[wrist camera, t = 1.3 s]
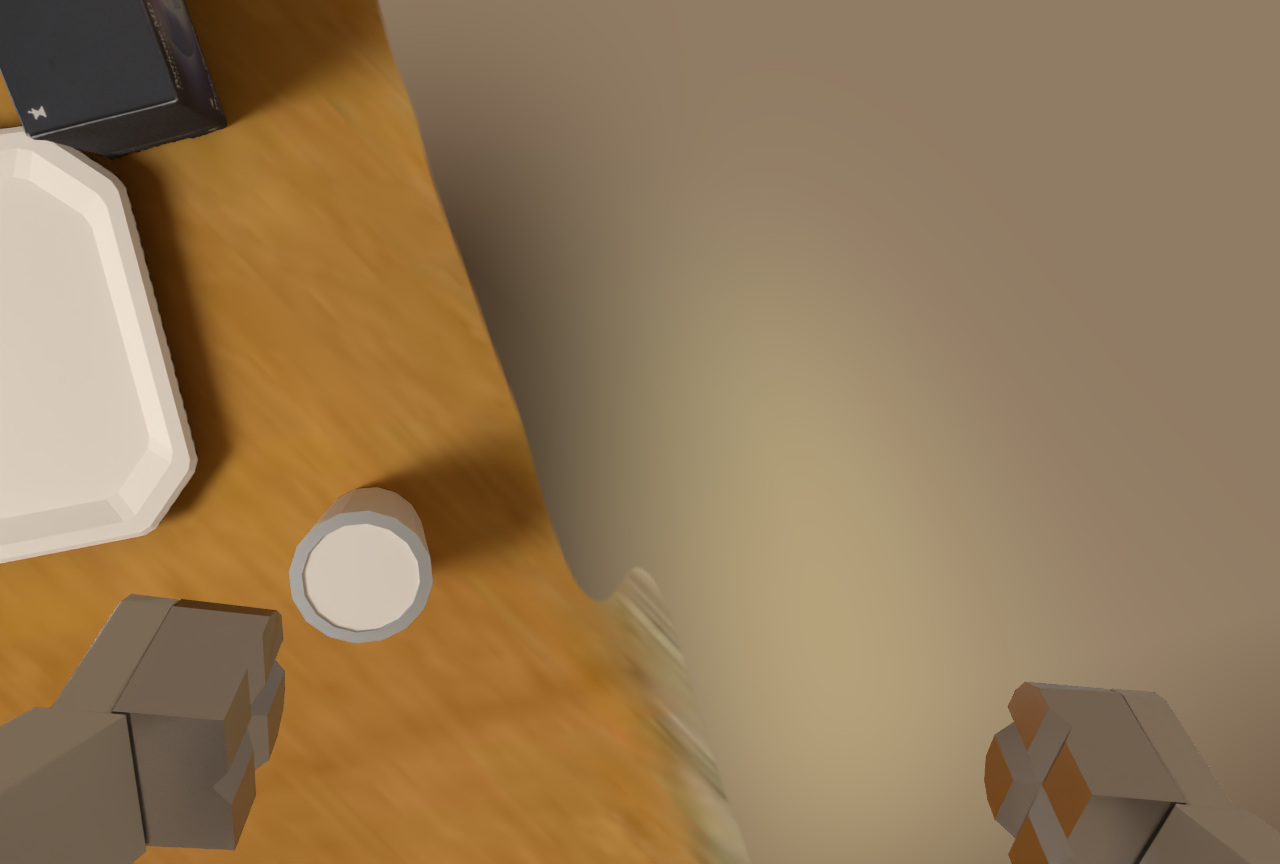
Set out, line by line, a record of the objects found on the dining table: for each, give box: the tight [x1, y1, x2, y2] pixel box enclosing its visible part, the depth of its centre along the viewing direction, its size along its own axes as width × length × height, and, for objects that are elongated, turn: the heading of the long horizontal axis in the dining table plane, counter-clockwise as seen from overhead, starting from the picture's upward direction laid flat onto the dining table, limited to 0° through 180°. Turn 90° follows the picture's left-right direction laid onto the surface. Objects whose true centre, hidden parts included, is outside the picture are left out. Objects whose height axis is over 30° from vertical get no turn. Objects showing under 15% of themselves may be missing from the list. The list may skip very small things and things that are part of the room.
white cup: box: [289, 487, 433, 643], centre depth 53 cm, size 7×7×7 cm
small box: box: [0, 0, 227, 160], centre depth 44 cm, size 11×6×10 cm, turn 15°
